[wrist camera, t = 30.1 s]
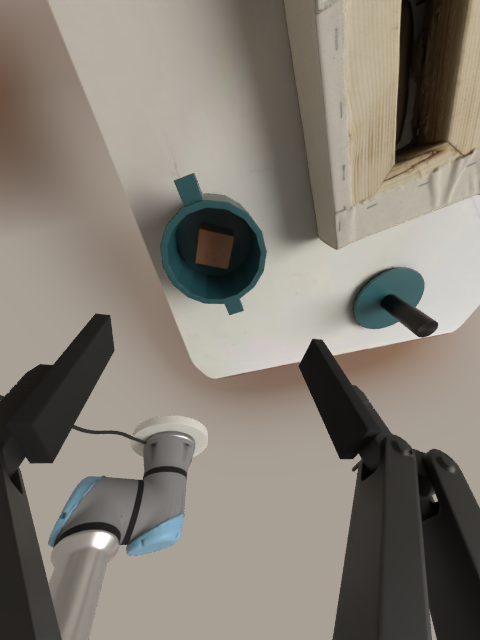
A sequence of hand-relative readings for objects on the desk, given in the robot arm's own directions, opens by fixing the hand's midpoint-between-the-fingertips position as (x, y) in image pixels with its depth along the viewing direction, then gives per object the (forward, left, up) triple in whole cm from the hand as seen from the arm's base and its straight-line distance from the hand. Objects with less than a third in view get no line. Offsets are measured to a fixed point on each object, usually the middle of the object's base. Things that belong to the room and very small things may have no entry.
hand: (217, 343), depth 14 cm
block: (0, 0, -26) cm, 26 cm away
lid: (+38, -5, -26) cm, 46 cm away
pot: (0, 0, -27) cm, 27 cm away
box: (+19, +23, -27) cm, 40 cm away
